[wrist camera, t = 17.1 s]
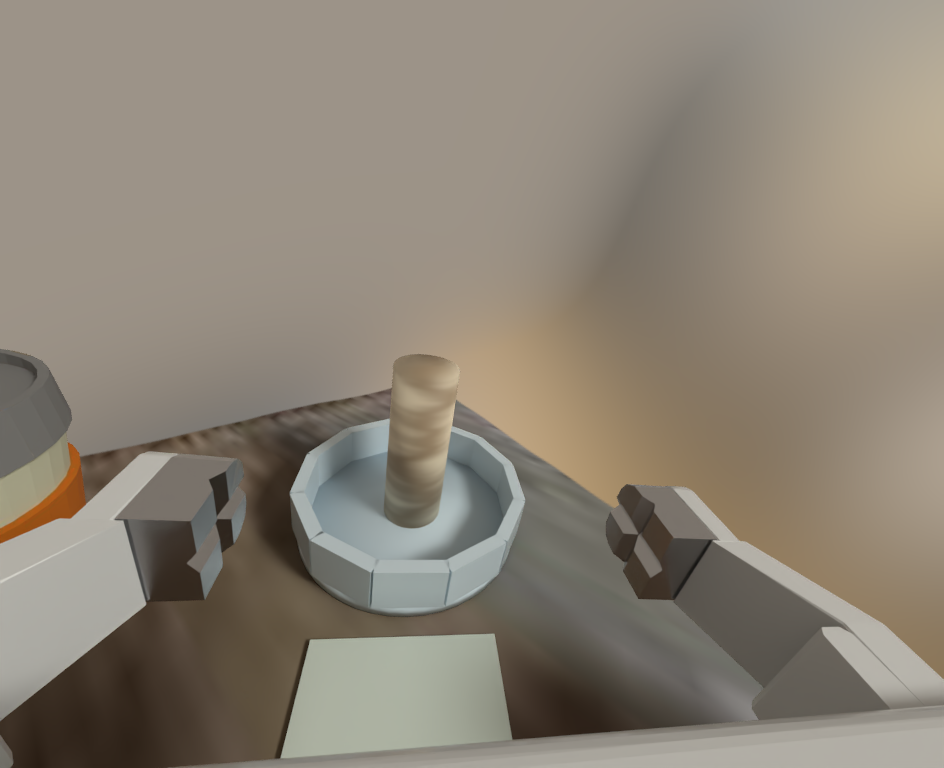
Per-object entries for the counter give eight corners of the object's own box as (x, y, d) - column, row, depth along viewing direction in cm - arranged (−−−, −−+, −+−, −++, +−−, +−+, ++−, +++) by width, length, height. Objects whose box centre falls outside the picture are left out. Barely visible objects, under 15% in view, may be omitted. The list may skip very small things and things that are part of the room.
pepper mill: (381, 527, 32) (391, 378, 26) (386, 487, 36) (395, 351, 30) (440, 529, 33) (462, 384, 27) (438, 489, 37) (457, 357, 31)
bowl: (259, 620, 25) (253, 573, 23) (325, 448, 42) (325, 413, 40) (535, 613, 28) (550, 572, 26) (492, 457, 45) (499, 425, 43)
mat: (221, 1001, 13) (220, 999, 13) (310, 642, 24) (310, 639, 24) (544, 941, 15) (546, 939, 15) (493, 636, 26) (494, 633, 26)
